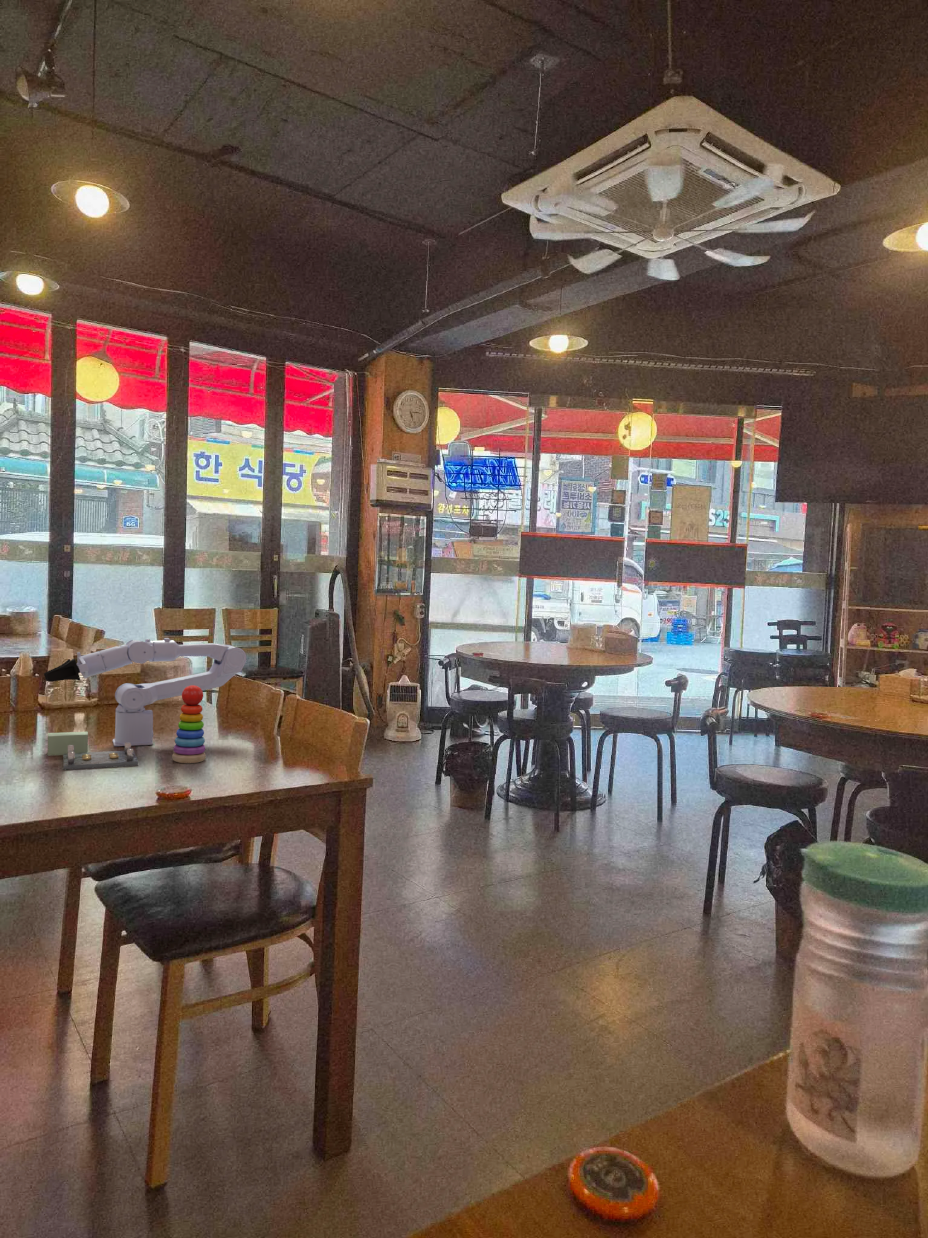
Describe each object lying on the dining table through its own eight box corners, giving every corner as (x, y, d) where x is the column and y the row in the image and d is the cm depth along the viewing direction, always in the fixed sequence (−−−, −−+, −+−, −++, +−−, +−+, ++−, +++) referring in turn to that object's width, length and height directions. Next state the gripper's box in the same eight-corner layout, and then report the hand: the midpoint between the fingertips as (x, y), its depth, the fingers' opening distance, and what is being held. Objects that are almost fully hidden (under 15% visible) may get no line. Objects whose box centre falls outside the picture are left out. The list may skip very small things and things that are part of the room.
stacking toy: (174, 765, 199) (176, 688, 198) (169, 758, 206) (171, 683, 205) (208, 763, 203) (210, 687, 202) (202, 756, 210) (204, 682, 209)
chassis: (133, 754, 208) (133, 740, 208) (138, 765, 197) (138, 751, 197) (63, 757, 201) (63, 743, 201) (63, 770, 190) (63, 755, 190)
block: (87, 751, 210) (87, 731, 210) (87, 754, 207) (87, 734, 207) (47, 753, 207) (47, 733, 206) (47, 756, 203) (47, 736, 203)
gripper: (93, 647, 221) (39, 662, 214) (100, 646, 209) (43, 662, 202) (101, 672, 222) (47, 688, 215) (109, 673, 210) (52, 690, 203)
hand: (45, 677), depth 209 cm, fingers open, 7 cm apart
